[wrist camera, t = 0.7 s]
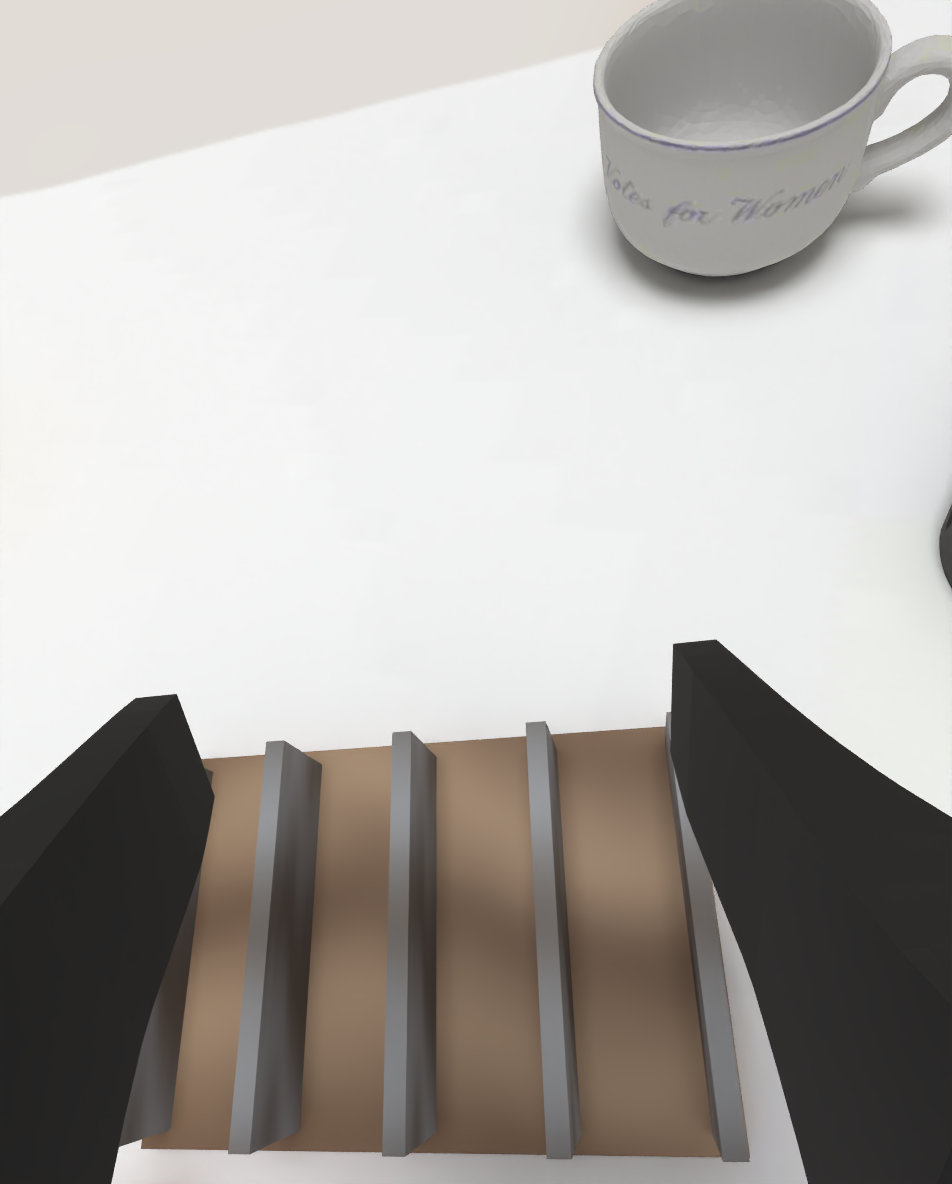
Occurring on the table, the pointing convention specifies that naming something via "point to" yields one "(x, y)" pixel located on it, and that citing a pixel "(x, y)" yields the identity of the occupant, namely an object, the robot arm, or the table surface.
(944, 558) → the media streaming box
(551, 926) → the dish rack
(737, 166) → the teacup
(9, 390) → the table surface
